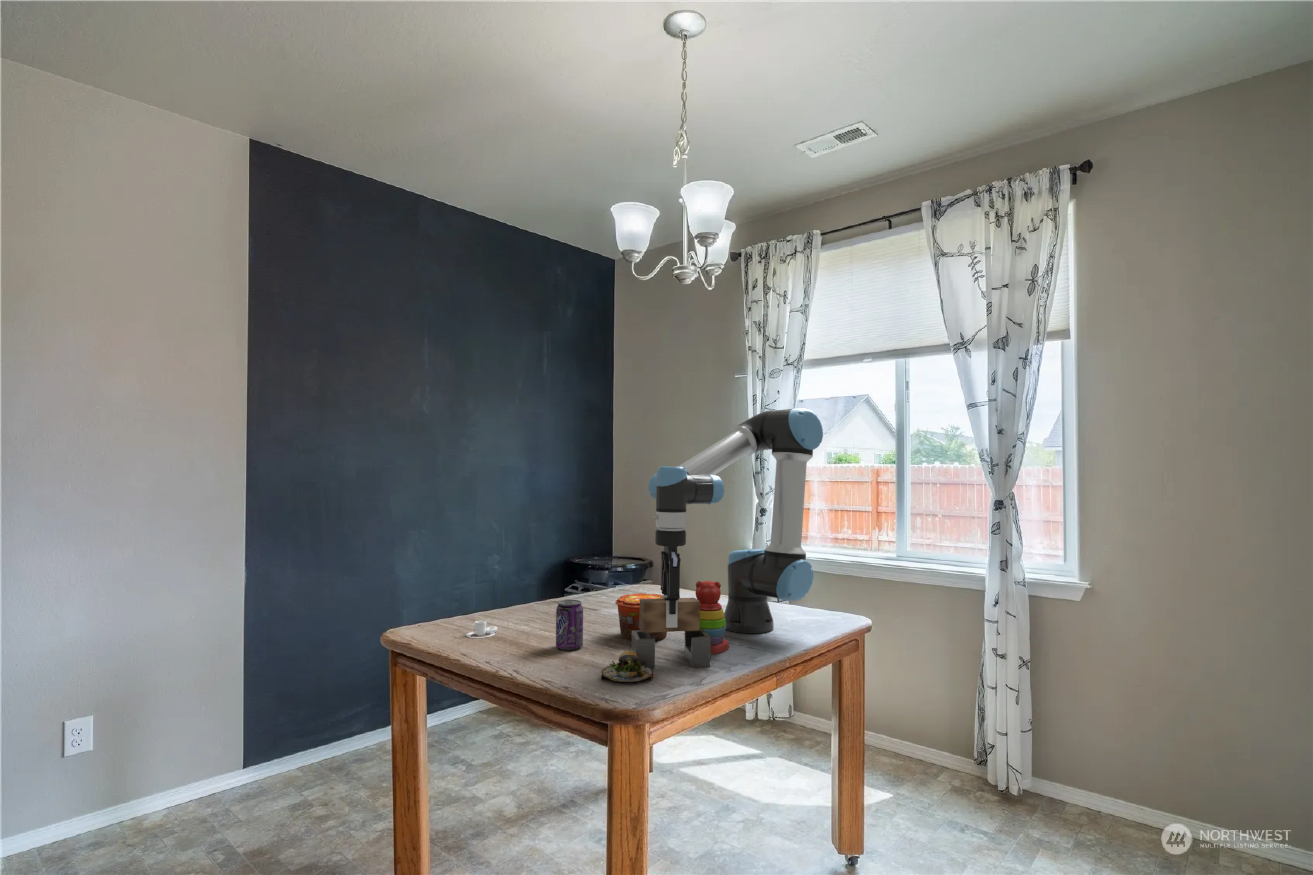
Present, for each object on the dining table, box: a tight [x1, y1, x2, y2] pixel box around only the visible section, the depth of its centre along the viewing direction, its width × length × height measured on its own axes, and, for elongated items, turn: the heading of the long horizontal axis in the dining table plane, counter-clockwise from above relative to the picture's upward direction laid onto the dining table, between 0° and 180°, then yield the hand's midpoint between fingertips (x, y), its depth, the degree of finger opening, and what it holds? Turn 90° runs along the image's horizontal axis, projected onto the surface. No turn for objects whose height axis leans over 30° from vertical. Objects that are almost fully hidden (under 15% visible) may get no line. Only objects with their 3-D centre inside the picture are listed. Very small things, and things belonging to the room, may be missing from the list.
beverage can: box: [555, 599, 584, 651], centre depth 182 cm, size 7×7×12 cm
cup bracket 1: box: [631, 630, 656, 670], centre depth 168 cm, size 4×9×7 cm, turn 9°
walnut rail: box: [639, 597, 700, 633], centre depth 169 cm, size 14×5×7 cm, turn 103°
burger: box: [600, 647, 655, 683], centre depth 157 cm, size 12×12×8 cm
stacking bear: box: [695, 580, 730, 655], centre depth 182 cm, size 11×10×18 cm
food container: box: [615, 592, 668, 642], centre depth 194 cm, size 16×16×11 cm
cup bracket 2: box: [684, 628, 711, 669], centre depth 170 cm, size 4×9×7 cm, turn 9°
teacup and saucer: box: [465, 620, 498, 639], centre depth 195 cm, size 9×8×4 cm
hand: (669, 624), depth 169 cm, fingers closed on walnut rail, 5 cm apart
